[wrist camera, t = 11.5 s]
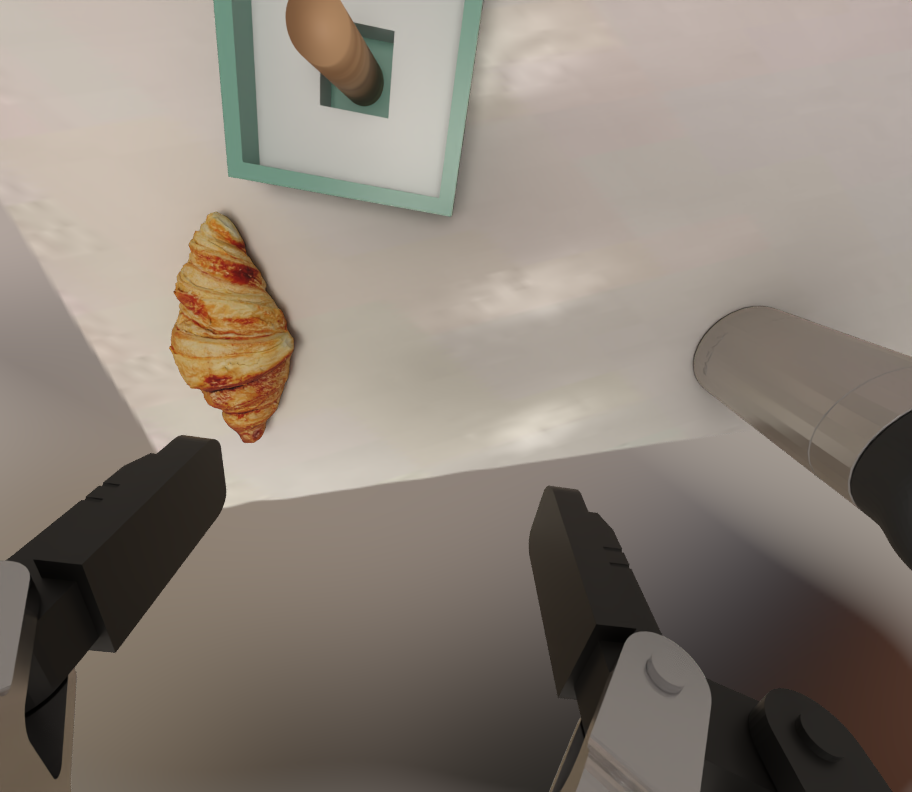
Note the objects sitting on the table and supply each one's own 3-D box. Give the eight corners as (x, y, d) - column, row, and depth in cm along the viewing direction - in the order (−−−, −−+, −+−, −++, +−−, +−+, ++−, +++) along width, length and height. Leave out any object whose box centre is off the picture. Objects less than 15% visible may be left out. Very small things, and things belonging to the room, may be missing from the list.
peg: (385, 57, 27) (350, -11, 18) (382, 110, 29) (347, 69, 20) (341, 48, 27) (284, -25, 18) (340, 101, 28) (286, 57, 19)
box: (488, -35, 26) (496, -96, 20) (452, 213, 32) (451, 216, 27) (255, -88, 25) (199, -167, 19) (267, 180, 31) (228, 176, 26)
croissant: (214, 208, 36) (110, 205, 29) (293, 216, 32) (193, 215, 25) (252, 414, 45) (179, 446, 38) (317, 440, 41) (248, 481, 34)
